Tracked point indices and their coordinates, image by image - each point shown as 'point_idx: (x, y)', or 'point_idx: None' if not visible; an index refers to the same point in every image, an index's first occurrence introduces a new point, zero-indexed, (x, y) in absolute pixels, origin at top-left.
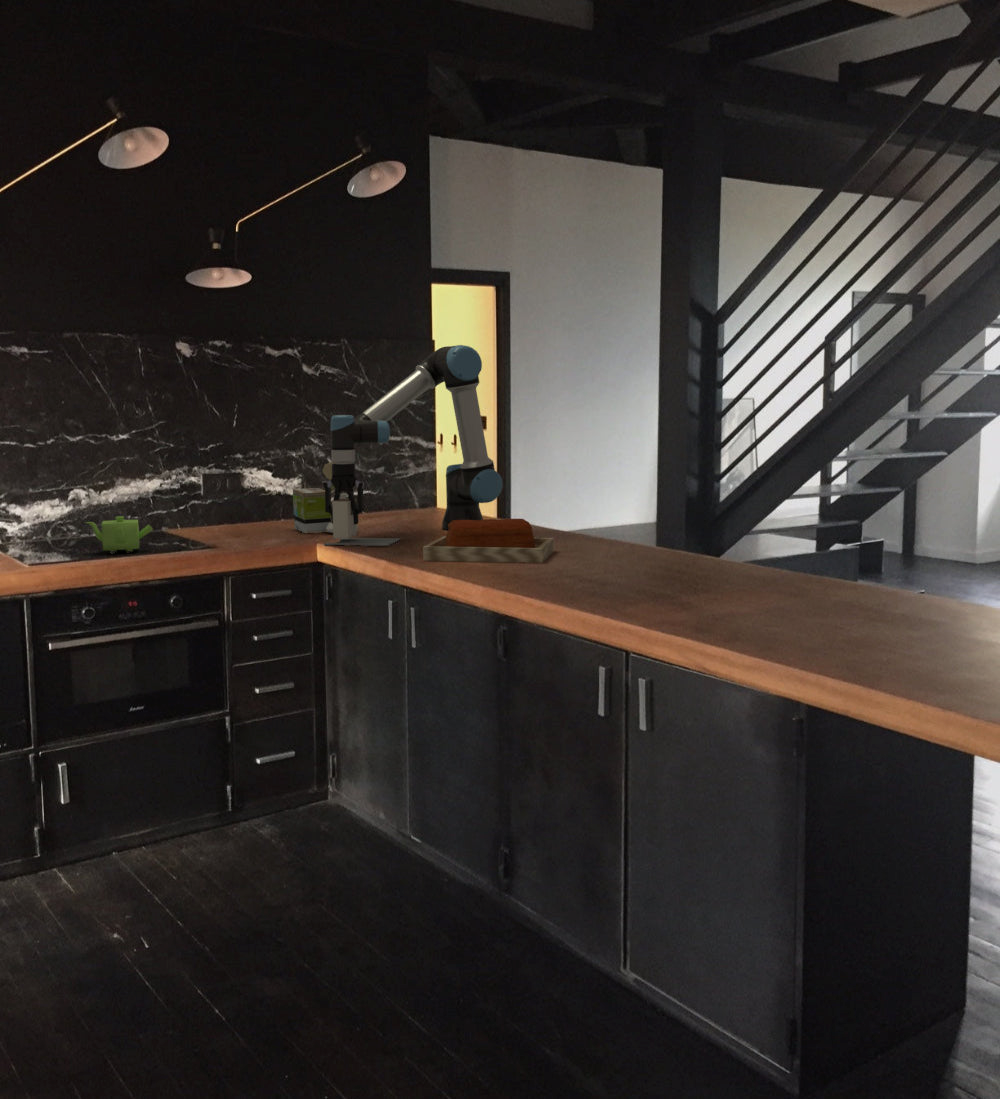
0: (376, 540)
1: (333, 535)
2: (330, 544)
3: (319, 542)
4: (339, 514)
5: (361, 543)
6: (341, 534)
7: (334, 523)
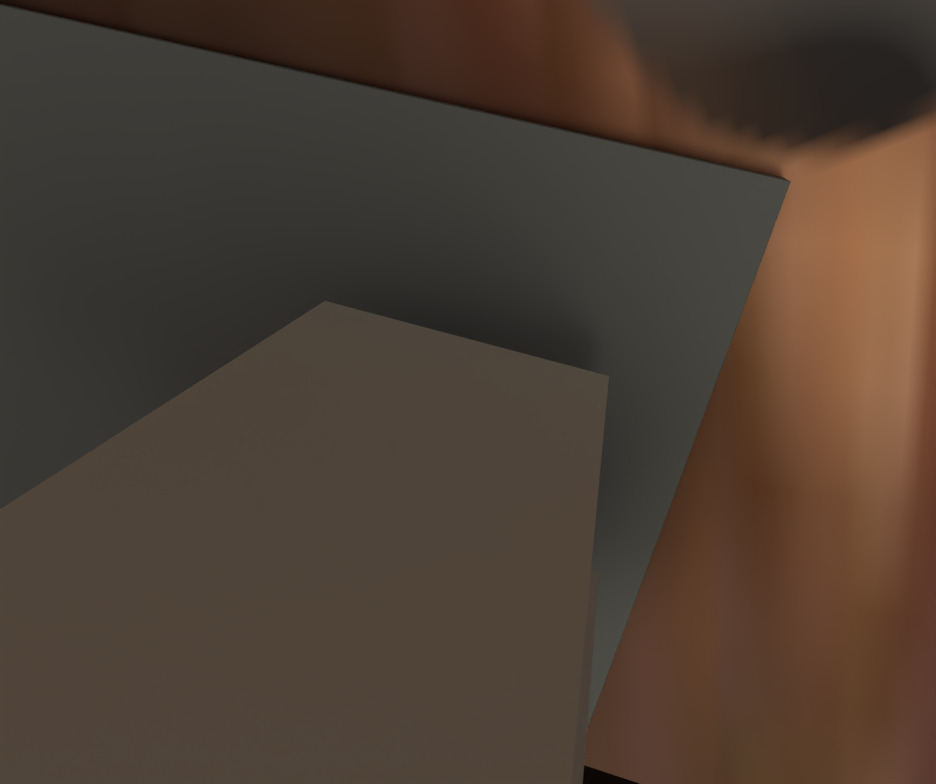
0: (27, 473)
1: (603, 394)
2: (658, 152)
3: (859, 612)
4: (252, 683)
5: (126, 171)
6: (427, 354)
7: (546, 524)
